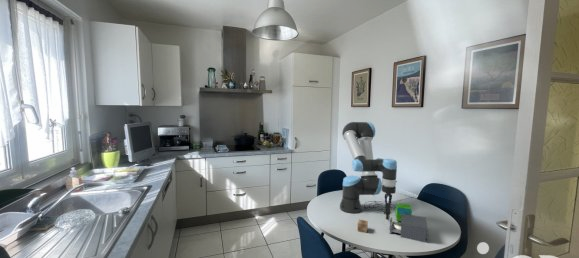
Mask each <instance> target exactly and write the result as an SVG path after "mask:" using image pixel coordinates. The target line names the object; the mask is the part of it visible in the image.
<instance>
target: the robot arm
mask: <svg viewBox="0 0 579 258" xmlns="http://www.w3.org/2000/svg"><path fill="white" fill-rule="evenodd" d="M375 127H376V126H375V125H374V123H372V122H370V121H351V122H348V123H347V124H345V126H344V127H343V129H342V137H343V140H345V141H346V144H347V146H348V149H349V151H350V154H351V156H352V159H353V160H352V162H351V166H352V168H351V169H352V170H353V171H354V172H359V173H360V172H362V173H361V175H360V176H359V175H347V176H345V177H343V179H342V180H343V181H342V199H341V200H340V203H339V209H340V210H341V211H343V212H345V213H347V214H358V213H361V212H362V204H361V201H360V196H366V195H367V196H376V195H379V194H380V193H381V191H382V192H383V193H384V203H385V208H384V209H385V210H384V212H383V214H384V225H389V226H390V218H391V214H392V211H391V204H392V199H393V194H395V193H396V189H397V188H396V186H397V185H396V184H397V183H398V180H397V172H398V171H397V170H398V169H397V168H398V162H397V160H396V159H393V158H380V157H378V158H374V154H373V152H374V151H373V145H372V140H374V138H375V136H376V128H375ZM376 172H380V173H382V178H380V177H378V174H377V173H376Z"/></svg>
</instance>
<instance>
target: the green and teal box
mask: <svg viewBox="0 0 579 258" xmlns="http://www.w3.org/2000/svg"><path fill="white" fill-rule="evenodd" d="M394 210H395V217H396V222H401V213H402V214H407V215H412V213H413V212H412V211H413V209H412V206H411V204H403V203H396V206H395V208H394Z"/></svg>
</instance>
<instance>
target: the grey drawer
mask: <svg viewBox="0 0 579 258" xmlns="http://www.w3.org/2000/svg"><path fill="white" fill-rule="evenodd" d="M394 222H395V221H393V217H392V216H390V225H389V234H392V232H393V233H396V234H397V233H398V234H400V235H401V231H400V230H396V229H394V228H393V223H394Z"/></svg>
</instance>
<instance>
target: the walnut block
mask: <svg viewBox="0 0 579 258" xmlns="http://www.w3.org/2000/svg"><path fill="white" fill-rule="evenodd" d="M368 222H369V221H368V220H364V219H359V220H358V221H357V232H360V233H364V234H367V233H368V226H369V225H368Z"/></svg>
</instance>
